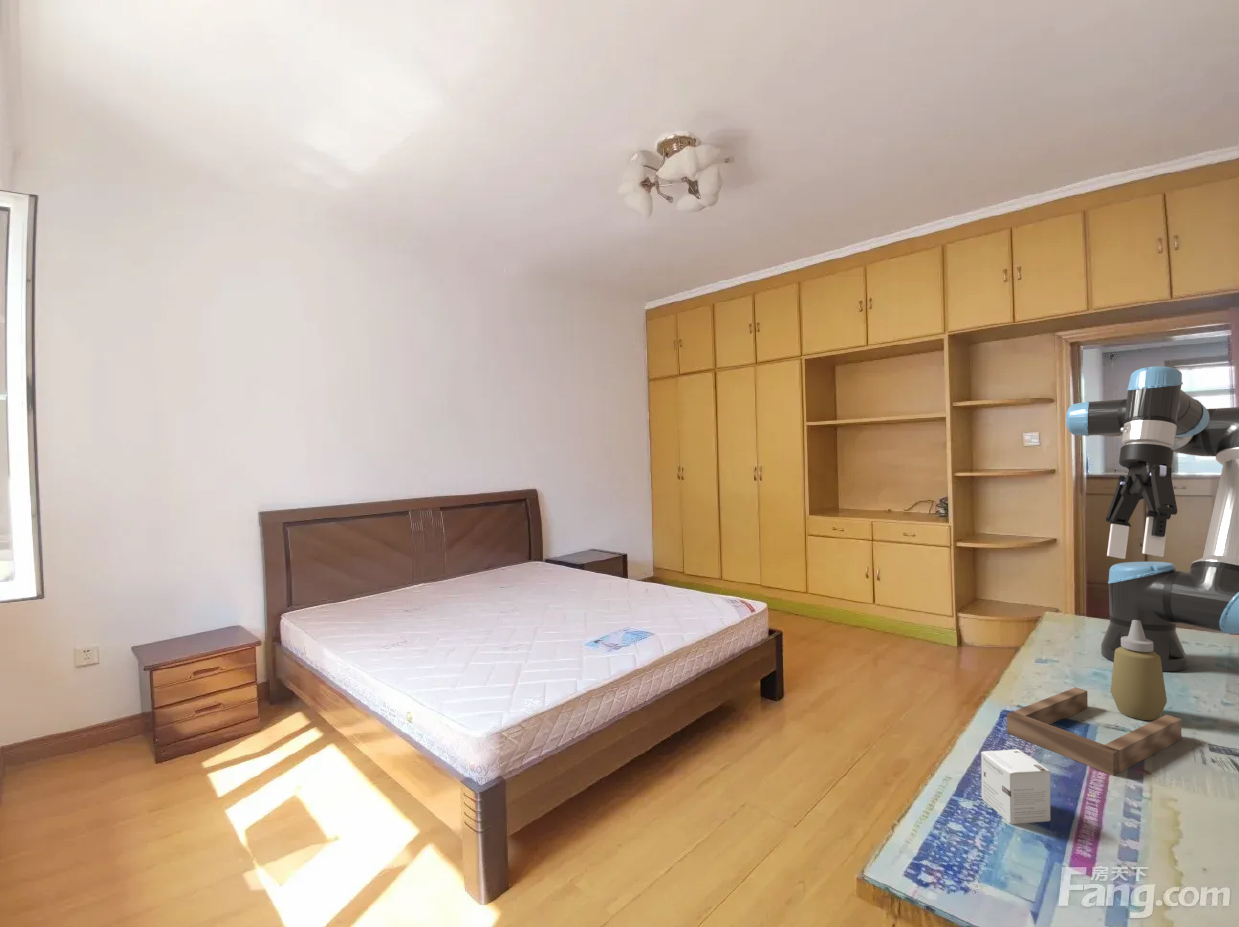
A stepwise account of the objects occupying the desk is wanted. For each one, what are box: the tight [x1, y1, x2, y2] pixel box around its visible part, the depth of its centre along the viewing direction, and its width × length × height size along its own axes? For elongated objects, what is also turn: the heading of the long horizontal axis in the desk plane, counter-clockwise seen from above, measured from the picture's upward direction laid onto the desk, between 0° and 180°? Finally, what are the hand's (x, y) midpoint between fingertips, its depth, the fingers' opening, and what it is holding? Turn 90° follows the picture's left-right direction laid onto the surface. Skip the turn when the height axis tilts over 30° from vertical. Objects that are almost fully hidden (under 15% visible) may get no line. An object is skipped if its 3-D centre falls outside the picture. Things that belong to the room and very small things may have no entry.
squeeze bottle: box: [1110, 620, 1168, 721], centre depth 110 cm, size 8×8×18 cm
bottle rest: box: [1006, 686, 1182, 776], centre depth 103 cm, size 23×16×4 cm
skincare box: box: [980, 748, 1051, 825], centre depth 83 cm, size 6×6×7 cm
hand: (1133, 556), depth 108 cm, fingers open, 13 cm apart
